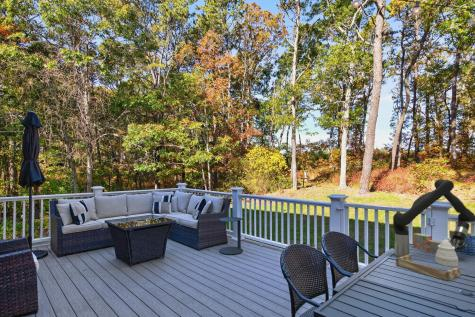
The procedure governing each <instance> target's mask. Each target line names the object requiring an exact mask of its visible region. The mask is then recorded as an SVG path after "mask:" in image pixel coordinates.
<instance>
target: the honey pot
mask: <svg viewBox="0 0 475 317" xmlns="http://www.w3.org/2000/svg"><path fill="white" fill-rule="evenodd" d="M451 238H452V237H446V239H443V240H442V241H440V242H441V244H440V245H438V247H439V248H438V250H437V252H436V254H435V263H436V262H437V264H438V263H439V265H441V264H442V266H446V267H454V268H456V267H459V257H458V255H457V252H455V250H454V249H455V247H453V246H452V245H453V244H452V242H451V243H450V242H449V241H450V240H451Z"/></svg>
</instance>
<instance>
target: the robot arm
mask: <svg viewBox="0 0 475 317" xmlns="http://www.w3.org/2000/svg"><path fill="white" fill-rule="evenodd" d="M433 185H434V188H435V189H433V190H432V191H429V192H426V193H424V194H421V195H420V196H419V197H418V198H416V199H414V202H413V204H411V205H412V206H411V207H410V208H409V209H408V210H406V211H405V212H404V213H402V212H396V213H395V214H393V218H392V222H393V223H392V224H393V231H394V240H395V241H394V255H395V257H396V258H399V257H402V256H406V255H410V233H409V230H408V228H407V227H406V226H409V225H410V224H411V223H412V222H413V221H414V219H416V218H417V217H418V216H420V215H421V214H423V212H424V211H425V210H427V209H429V207H431V206H432V205H433V204H434V203H435V202H437V201H438V200H439V199H441V198H442V197H444V198H445V199H446V200H447V202H448V203H449V204H450V206H452V208H453V209H454V211H455V212H456V213H458V214H457V225H456V227H455V229H454V230H453V234H452V237H450V238H451V240H450V241H449V242H450V243H451V245H452V246H453V247H455V249H454V250H455V252H456V253H458V250H459V251H461V250H464V249H465V248H467V247H468V244H467V243H466V239H467V236H468V232H469V231H470V230H469V229H470V224H469V223H473V222H475V213H473V212H472V210H471V209H468V208H467V207H466V205H465V204H464V203H463V202H462V200H461V199H460V198H458V197H457V196H456V195H455V194H453V193H452V192H451V191H452V190H454V187H455V185H454V182H453V181H452V180H449V179H445V178H444V179H441V178H439V179H436V180H435V181H434V184H433Z"/></svg>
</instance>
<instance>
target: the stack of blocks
mask: <svg viewBox="0 0 475 317" xmlns="http://www.w3.org/2000/svg"><path fill="white" fill-rule="evenodd" d="M441 242H442V241H439V240H434V239H433V238H432V235H430V234H429V235H428V234H423V233H419V232H415V233H412V248H413V249H416V248H417V250H420V251H423V250H424V251H425V252H427V251H428V252H427V253H431V252H432V254H434V253H436V252H437V250H438V248H439V247H438V245H440V244H441Z"/></svg>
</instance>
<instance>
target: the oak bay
mask: <svg viewBox="0 0 475 317" xmlns="http://www.w3.org/2000/svg"><path fill="white" fill-rule="evenodd" d="M395 262H396V266H397V267H399V268H403V269H407V270H410V271H413V272H416V273H421V274H423V275H427V276H430V277H432V278H436V279H440V280H443V281H446V282H449V281H451V280H454V279H456V278H458V277H461V267H459V266H455V267H454V268H451V269H449V270H443V269H439V268H435V267H431V266H427V265H425V264H421V263H417V262H413V261H412V254H409V255H406V256H402V257H395Z"/></svg>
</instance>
